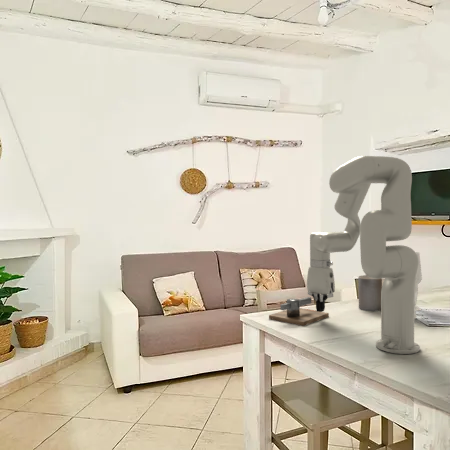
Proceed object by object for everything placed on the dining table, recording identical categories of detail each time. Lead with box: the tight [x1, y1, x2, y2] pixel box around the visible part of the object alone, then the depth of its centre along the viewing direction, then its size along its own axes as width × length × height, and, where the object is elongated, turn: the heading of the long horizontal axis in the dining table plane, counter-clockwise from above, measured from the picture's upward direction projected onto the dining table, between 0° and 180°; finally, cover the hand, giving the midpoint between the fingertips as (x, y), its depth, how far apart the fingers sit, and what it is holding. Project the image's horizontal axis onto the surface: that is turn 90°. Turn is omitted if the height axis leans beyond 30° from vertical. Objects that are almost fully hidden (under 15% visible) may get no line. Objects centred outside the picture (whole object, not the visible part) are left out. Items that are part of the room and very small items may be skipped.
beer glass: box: [414, 279, 419, 320], centre depth 174 cm, size 7×7×15 cm
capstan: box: [280, 296, 312, 317], centre depth 174 cm, size 18×5×6 cm, turn 135°
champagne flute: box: [415, 251, 423, 312], centre depth 188 cm, size 7×7×24 cm
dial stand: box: [268, 307, 330, 327], centre depth 176 cm, size 18×16×2 cm
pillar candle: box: [357, 274, 383, 312], centre depth 190 cm, size 10×10×15 cm
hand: (320, 311), depth 172 cm, fingers closed
